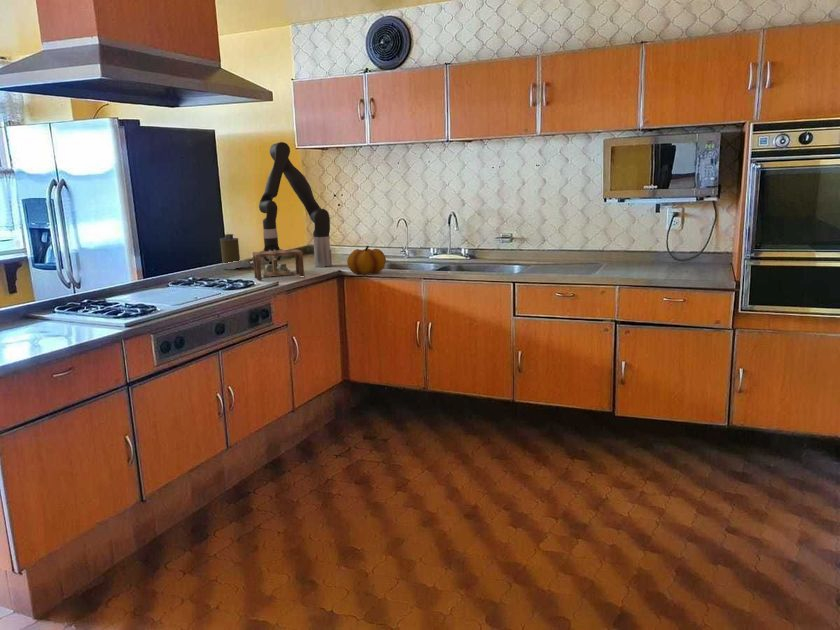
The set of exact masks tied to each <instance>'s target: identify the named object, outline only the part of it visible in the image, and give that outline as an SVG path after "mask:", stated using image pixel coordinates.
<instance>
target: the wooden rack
mask: <svg viewBox="0 0 840 630" xmlns="http://www.w3.org/2000/svg"><path fill="white" fill-rule="evenodd" d="M272 256H273V257H274V256H277V257H278V256H281V257H282V256H285V257H286V256H294V260H295V262H294V264H295V274H296V275H297V274H300V275H299V277H300V276H304V277H305V271H304V270H305V269H304V268H305V267H304V253H303V251H302V250H300V249H298V248H294V249H282V250H278V251H264V252H260V251H253V252H252V260H253V271H254V274H253V275H254V278H255V279H256V280H262V281H263V279H262V277H263V276H262V269H261V268H262V267H261V258H264V257H266V258H268V257H272Z"/></svg>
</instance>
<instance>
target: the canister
mask: <svg viewBox="0 0 840 630" xmlns="http://www.w3.org/2000/svg"><path fill="white" fill-rule="evenodd" d="M219 245H220V254H221V262H222V264H221V265H223V263H228V262H233V261H239V260H240V261H241V257H240V256H241V255H240V245H239V238H237V237H234V234H233V233H227V234H225V235H224V237H221V238H219Z"/></svg>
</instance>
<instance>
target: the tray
mask: <svg viewBox="0 0 840 630" xmlns="http://www.w3.org/2000/svg"><path fill="white" fill-rule="evenodd" d="M271 262H272V264H269V263H268V264H265V265H264V266H265V269H261V276H262V277H263V278H272V277H271V276H276V277H282V276H281V275H289V276H291V270H290V269H289V268H288V267H287V263H278V262H277V263H276V259H275V258H274V256H272V257H271Z"/></svg>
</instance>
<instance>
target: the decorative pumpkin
mask: <svg viewBox="0 0 840 630" xmlns="http://www.w3.org/2000/svg"><path fill="white" fill-rule="evenodd" d="M346 260H347V261H346V263H347V267H348V269H349V270H350V272H352V273H353V274H356V275H364V276H368V275H371V274H373V275H376V274H379V273H380V272H382V270H384V268H385V265H386V262H387V261H386V260H387V258H386V255H385V253H384V252H383V251H382V250H380V248H379V249H378V248H373V249H370V246H369V245H366V247H365V248H364V249H359V248H358V249H354V250H353V251H351V253H350V254H348V256H347V259H346Z"/></svg>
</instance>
